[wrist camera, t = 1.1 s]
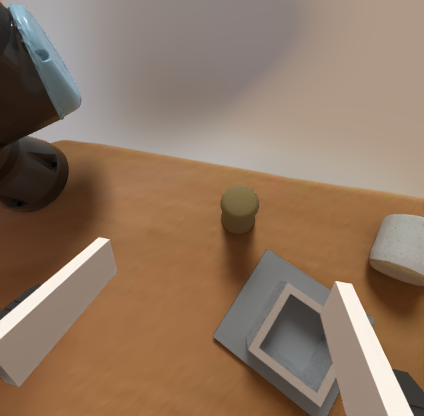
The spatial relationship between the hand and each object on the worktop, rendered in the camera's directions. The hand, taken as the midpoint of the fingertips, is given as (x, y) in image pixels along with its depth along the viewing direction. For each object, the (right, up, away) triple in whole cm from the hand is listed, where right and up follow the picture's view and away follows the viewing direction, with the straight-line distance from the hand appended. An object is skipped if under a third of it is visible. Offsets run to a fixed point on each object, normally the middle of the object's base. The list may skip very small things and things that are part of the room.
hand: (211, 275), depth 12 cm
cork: (+5, +2, +25) cm, 26 cm away
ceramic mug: (+30, -3, +21) cm, 37 cm away
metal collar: (+12, -14, +20) cm, 27 cm away
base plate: (+12, -14, +20) cm, 27 cm away
